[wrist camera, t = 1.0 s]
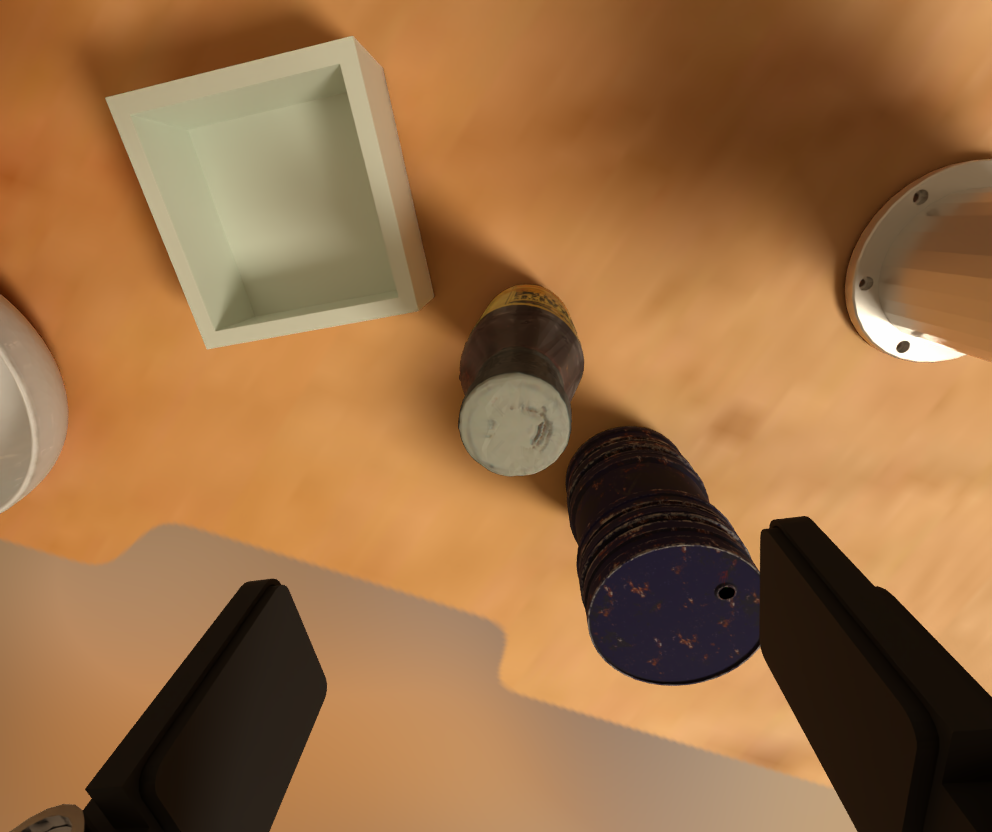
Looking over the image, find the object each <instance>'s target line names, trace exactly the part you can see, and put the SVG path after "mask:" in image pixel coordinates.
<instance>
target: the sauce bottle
mask: <svg viewBox="0 0 992 832" xmlns="http://www.w3.org/2000/svg"><path fill="white" fill-rule="evenodd" d="M583 371H584V356H583V351H582V348H581V343H580V341H579V339H578V336H577V332H576V329H575V327H574V325H573V323H572V320H571V317H570V315H569V312H568V310H567V308H566V307H565V305H564V304H563V302H562V301H561V300H560V299H559V297H557V296H556V295H555V294H554V293H553V292H551V291H550V290H548V289H546V288H544V287H541V286H537V285H530V284H524V285H517V286H513V287H510V288H508V289H506V290H504V291H503V292H501V293H500V294H499V295H497V296H496V297H495V298H494V299H493V300H492V301H491V303H490V304H489V305H488V307H487V308H486V310H485V312H484V313H483V315H482V317H481V318H480V319H479V321H478V322H477V324H476V325H475V327H474V328H473V330H472V332H471V334H470V336H469V338H468V341H467V342H466V343H465V347H464V350H463V353H462V356H461V361H460V376H459V379H460V381H461V385H462V388H463V391H464V394H465V397H464V399H463V402H462V405H461V409H460V414H459V420H458V428H459V431H460V436H461V439H462V442H463V445H464V446H465V448H466V450H467V452H468V453H469V454H470V456H471V457H472V458H473V459H474V460H475V461H477V462H478V463H480V464H481V465H482V466H484V467H485V468H486V469H488V470H489V471H491V472H494V473H496V474H500V475H504V476H524V475H531V474H535V473H537V472H539V471H542V470H544V469H546V468H547V467H548V466H549V465H551V464H552V463H554V462H555V461H556V460H557V459H558V457H559V456H560V455H561V453H562V452H563V451H564V450H565V448H566V446H567V445H568V441H569V437H570V433H571V422H572V420H571V416H572V415H571V404H570V402H571V400H572V398H573V396H574V394H575V391H576V389H577V387H578V385H579V383H580V380H581V378H582V375H583Z"/></svg>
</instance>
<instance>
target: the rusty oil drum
mask: <svg viewBox="0 0 992 832" xmlns="http://www.w3.org/2000/svg"><path fill="white" fill-rule="evenodd" d="M566 491H567V507H568V513H569V520H570V527H571V530H572V533H573V535H574V538H575V540H576V542H577V544H578V546H579V547H578V554H577V565H576V566H577V573H578V578H579V583H580V590H581V597H582V601H583V604H584V607H585V610H586V615H587V623H588V629H589V634H590V637H591V640H592V643H593V645H594V647H595V648H596V650H597V652H598V653H599V654H600V656H601V657H602V658H603V659H604V660H605V661H606V662H607V663H608V664H609V665H610V666H612V667H613V668H614V669H616V670H617V671H619V672H621V673H622V674H624V675H626V676H628V677H631V678H633V679H635V680H639V681H642V682H646V683H650V684H657V685H668V686H679V685H690V684H696V683H701V682H705V681H708V680H711V679H715V678H717V677H720V676H722V675H724V674H726V673H729V672H730V671H732V670H734V669H735V668H737V667H739V666H740V665H742V664H743V663H744V662H745V661H747V660H748V659H749V658H750V657H751V656H752V655H753V654H754V653H755V652H756V651H757V650H758V649H759V648H760V640H759V620H760V572H759V570H758V569H757V567H756V566H755V564H754V563H753V561H752V559H751V557H750V554H749V552H748V550H747V548H746V547H745V545H744V544H743V542H742V541H741V539H740V538H739V536H738V535H737V533H736V532H735V531H734V528H733V527H732V525H731V524H730V522H729V521H728V519H727V518H726V517H725V516H724V515H723V514H722V513H721V512H720V511H719V510H717V509H716V508H715V507H714V506H713V505H711V504H710V503H709V498H708V495H707V492H706V489H705V487H704V484H703V482H702V480H701V479H700V477H699V476H698V474H697V473H696V472H695V471H694V470H693V468H692V467H691V465H690V464H689V462H688V461H687V460H686V459H685V458H684V457H683V456H682V455H681V453H680V452H679V450H678V449H677V447H676V446H675V445H674V444H673V443H672V442H671V441H670V440H669V439H667V438H666V437H665V436H663V435H662V434H660V433H658V432H656V431H653V430H650V429H647V428H642V427H636V426H625V427H617V428H613V429H609V430H606V431H604V432H601V433H599V434H597V435H595V436H594V437H592V438H590V439H589V440H588V441H587V442H585V443H584V444H583V445H582V446H581V447H580V448H579V449H578V450H577V452H576V453H575V454H574V456H573V458H572V459H571V461H570V464H569V466H568V469H567V474H566Z"/></svg>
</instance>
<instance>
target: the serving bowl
mask: <svg viewBox="0 0 992 832" xmlns="http://www.w3.org/2000/svg"><path fill="white" fill-rule="evenodd" d="M67 427H68V403H67V395H66V391H65V387H64V383H63V380H62V377H61V374H60V371H59V369H58V366H57V364H56V362H55V360H54V358H53V356H52V354H51V352H50V351H49V349H48V347H47V346H46V344H45V342H44V341H43V339H42V338H41V337H40V335H39V334H38V333H37V331H36V330H35V329H34V327H33V326H32V325H31V324H30V323H29V321H28V320H27V319H26V318H25V317H24V316H23V315H22V314H21V313H20V312H19V310H18V309H17V308H16V307H14V306H13V305H12V304H11V303H10V302H9V301H8V300H7V299H6V298H5V297H3V296H2V295H1V294H0V513H2V512H4V511H6V510H7V509H9V508H10V507H11V506H13V505H14V504H15V503H17V502H18V501H20V500H21V499H22V498H24V497H25V496H26V495H27V494H29V493H30V492H31V491H32V490H33V489H34V488H35V487H36V486H37V485H38V484H39V483H40V482H41V481H42V480H43V479H44V478H45V477H46V476H47V474H48V473H49V472H50V470H51V469H52V467H53V466H54V464H55V463H56V461H57V459H58V457H59V455H60V453H61V450H62V447H63V445H64V441H65V438H66V434H67Z"/></svg>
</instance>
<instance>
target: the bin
mask: <svg viewBox="0 0 992 832" xmlns="http://www.w3.org/2000/svg"><path fill="white" fill-rule="evenodd" d="M105 99H106V102H107V104H108V106H109V109H110V111H111V114H112V116H113V119H114V121H115V124H116V126H117V129H118V131H119V134H120V136H121V139H122V141H123V144H124V146H125V148H126V151H127V153H128V156H129V158H130V161H131V163H132V166H133V168H134V171H135V173H136V176H137V178H138V181H139V183H140V185H141V188H142V190H143V193H144V195H145V198H146V200H147V203H148V205H149V208H150V210H151V213H152V215H153V218H154V220H155V223H156V225H157V227H158V230H159V232H160V235H161V237H162V240H163V242H164V245H165V247H166V250H167V252H168V255H169V257H170V260H171V262H172V264H173V267H174V269H175V272H176V274H177V277H178V279H179V282H180V284H181V287H182V289H183V292H184V294H185V297H186V299H187V302H188V304H189V306H190V309H191V311H192V314H193V316H194V319H195V321H196V324H197V326H198V329H199V331H200V334H201V336H202V339H203V341H204V344H205V346H206V348H207V349H212V348H217V347H223V346H228V345H234V344H240V343H245V342H251V341H256V340H262V339H267V338H273V337H278V336H284V335H289V334H295V333H301V332H306V331H312V330H317V329H323V328H328V327H334V326H339V325H345V324H350V323H356V322H362V321H367V320H373V319H378V318H384V317H389V316H395V315H400V314H406V313H411V312H417V311H419V310H421V309H422V308H423V307H424V306H425V305H426V304H427V303H428V302H429V301H431V300H432V299H433V298H434V293H433V288H432V284H431V279H430V275H429V270H428V266H427V261H426V257H425V253H424V248H423V244H422V239H421V235H420V230H419V226H418V221H417V217H416V213H415V208H414V204H413V199H412V195H411V190H410V186H409V182H408V177H407V173H406V168H405V164H404V159H403V155H402V150H401V146H400V142H399V137H398V133H397V128H396V124H395V119H394V115H393V110H392V106H391V102H390V97H389V93H388V88H387V84H386V79H385V75H384V70H383V68H382V66H381V65H380V64H379V63H378V62H377V61H376V60H375V59H374V58H373V57H372V56H371V55H370V54H369V53H368V51H367V50H366V49H365V48H364V47H363V46H362V45H361V44H360V43H359V42H358V41H357V40H356V39H355V38H354V37H353V36H350V37H346V38H342V39H338V40H334V41H330V42H326V43H322V44H318V45H314V46H310V47H306V48H302V49H298V50H294V51H290V52H286V53H282V54H278V55H274V56H270V57H266V58H262V59H258V60H254V61H250V62H246V63H242V64H238V65H234V66H230V67H226V68H222V69H218V70H214V71H210V72H206V73H202V74H198V75H194V76H190V77H186V78H182V79H178V80H174V81H170V82H166V83H162V84H158V85H154V86H150V87H146V88H142V89H138V90H134V91H130V92H126V93H122V94H118V95H114V96H110V97H106V98H105Z"/></svg>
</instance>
